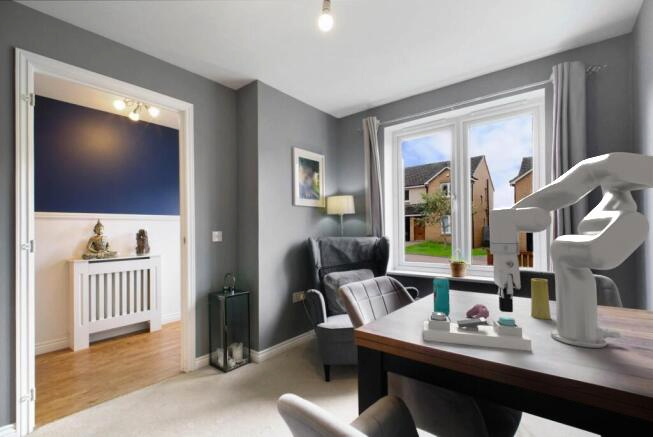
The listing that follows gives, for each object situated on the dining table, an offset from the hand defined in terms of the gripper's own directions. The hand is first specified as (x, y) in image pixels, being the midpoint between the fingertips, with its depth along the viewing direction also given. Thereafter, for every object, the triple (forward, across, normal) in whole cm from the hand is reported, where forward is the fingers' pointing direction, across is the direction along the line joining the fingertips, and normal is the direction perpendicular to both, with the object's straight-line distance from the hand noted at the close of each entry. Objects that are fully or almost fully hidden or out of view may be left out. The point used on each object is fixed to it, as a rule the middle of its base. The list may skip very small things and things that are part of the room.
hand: (506, 311), depth 87 cm
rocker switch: (+4, 0, +9) cm, 10 cm away
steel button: (+5, 0, +19) cm, 19 cm away
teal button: (+5, 0, 0) cm, 5 cm away
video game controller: (+10, +22, +4) cm, 24 cm away
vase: (+9, +33, -20) cm, 40 cm away
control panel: (+9, 0, +9) cm, 13 cm away
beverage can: (+9, +24, +16) cm, 31 cm away
